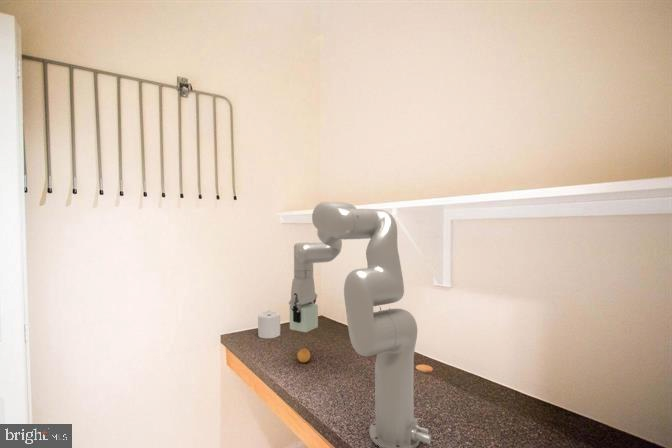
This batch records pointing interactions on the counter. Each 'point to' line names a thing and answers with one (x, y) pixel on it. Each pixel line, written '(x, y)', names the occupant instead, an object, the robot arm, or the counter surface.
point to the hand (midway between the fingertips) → (303, 319)
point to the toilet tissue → (269, 324)
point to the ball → (303, 355)
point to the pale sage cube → (305, 318)
